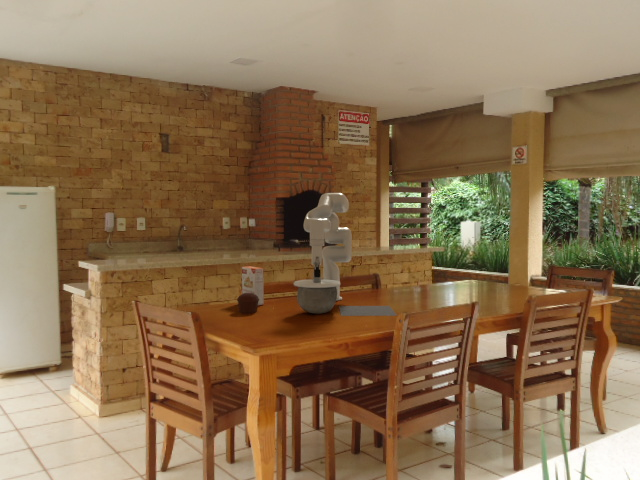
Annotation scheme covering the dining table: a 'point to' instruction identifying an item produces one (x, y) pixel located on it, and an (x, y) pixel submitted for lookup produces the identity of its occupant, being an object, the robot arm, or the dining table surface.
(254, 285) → the cracker box
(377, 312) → the mat
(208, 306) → the dining table surface
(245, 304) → the muffin
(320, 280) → the lid
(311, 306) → the bowl
